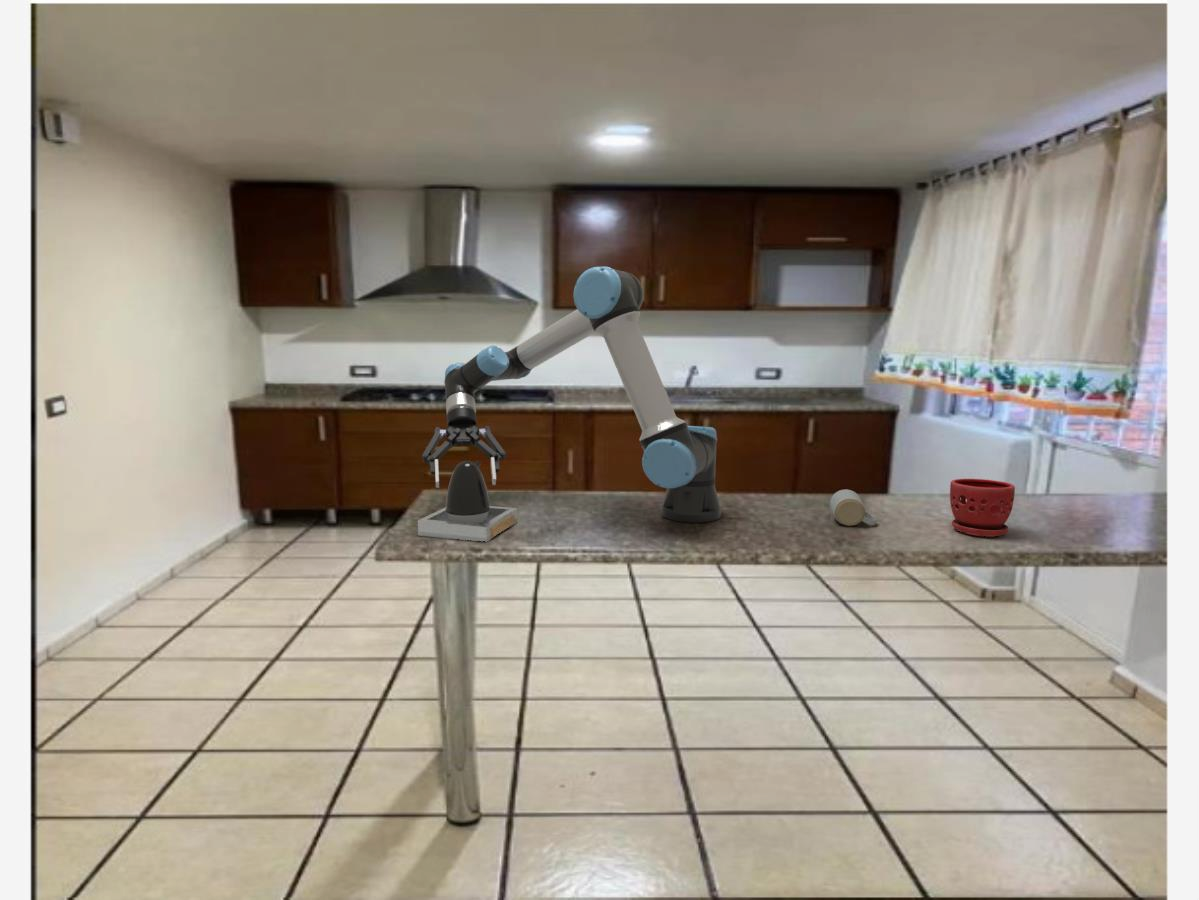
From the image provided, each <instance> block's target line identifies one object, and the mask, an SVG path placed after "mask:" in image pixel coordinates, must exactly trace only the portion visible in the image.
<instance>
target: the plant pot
mask: <svg viewBox="0 0 1199 900" xmlns="http://www.w3.org/2000/svg"><path fill="white" fill-rule="evenodd" d="M1015 493H1016V487H1015V485H1014V484H1012V483H1009V482H1006V481H1002V480H1001V481H1000V480H993V479H984V478H956V479H953V480H951V481H950V485H949V501H950V502H949V503H950V509H951V512H952V515H953V517H954V519H952V521H951V526H952V527H953V528H954V529H955V530H956V531H960V532H959V533H962V532H963V534H966V535H970V536H976V537H984V536H985V537H987V538H992V537H995V536H999V537H1000V536H1002V535H1005V534H1006V533H1008V531H1009V529H1010V527H1009V526H1008V525H1006V522H1007V521H1008V519H1009V518H1010V516H1011V513H1012V510H1013V507H1014V506H1013V505H1014V500H1015Z"/></svg>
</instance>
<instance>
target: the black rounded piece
mask: <svg viewBox="0 0 1199 900" xmlns="http://www.w3.org/2000/svg"><path fill="white" fill-rule="evenodd" d="M481 464H482V462H481V461H480V460H477V461H475V462H473V461H470V460H464V461H461V462H459V463H458V464H457V465H456V466H455V468H454V470H453V472H452V474H451V476H450V480H449V484H448V486H447V492H446V496H445V497H446V498H445V507H446V512H447V514H448V517H449V519H450V521H451V522H459V523H470V524H481V523H483V522H484V521H485V519H486V518H487V515H488V511H489V510H490V506H491V505H490V504H491V502H490V498H489V493H488V488H487V485H486V482H485V478H484V475H483V474H482V471H481V470H480V468H479V467H480V466H481Z"/></svg>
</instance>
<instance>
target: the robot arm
mask: <svg viewBox="0 0 1199 900" xmlns="http://www.w3.org/2000/svg"><path fill="white" fill-rule="evenodd" d="M644 294H645V293H644V288H643V286H642V283H641V282H640V280H639V279H638V278H637V277H636V276H635V275H633V274H632V273H631V272H628V271H625V270H619V269H614V268H611V267H609V266H605V265H604V266H594V267H591V268H588V269H586V270H584V272H583V273H582V274H580V276H579V277H578V278H577V280H576V282H575V286H574V289H573V300H574V301H573V303H574V305H575V307H576V309H575V310H573V311H572V312H570V313H568V314H567V315H565V316H564V317H562V318H561V319H558V320H557V321H555V322H554V323H552V324H550V326H547V327H546V328H543V329H542V330H541V331H539V332H537V333H536V334H534V335H533V336H531V337H529V338H528V339H526V340H525V341H523V342H521V343H520V344H518V345H517V346H514V347H513V348H511V349H510V350H508V351H505V350H503V349H502V348H501V347H498V346H497V345H493V344H492V345H489V346H487V347H486V348H484V349H481V351H480V352H478V354H476V355H475V356H473V357H472V358H471V359H470V360H469V361H467V362H466V363H464V362H456V363H455V364H453V363H452V364H450V365H448V367H447V368H446V369H445V372H444V381H443V383H444V389H445V407H446V408H445V409H446V411H445V412H446V425H447V428H446V429H441V428H440V427H439V426H437V427H435V429H434V434H433V436H432V437H431V440H430V441H429V443H428V445H427V446H426V448H425V450H424V451H423V453H422V454H421V457H422V463H424V464H427V463H428V464H429V469H430V472H429V473H430V475H431V476H432V475H433V476H434V475H435V476H434V477H435V478H434V479H435V488H436V489H439V488H440V476H439V475H440V473H439V460H441V458H442V457H443V456H444V455H445V454H447V452H448V451H449V450H450V449H452V448H453V447H454V446H457V447H461V446H467V447H469V446H471V445H472V446H473V447H474V448H475V449H476V448H477V449H478V450H479V451H480V452H481V453H483V454H484V455H485V456H486V457H487V458H489V459H490V473H491V483H492V486H496V485H497V484H496V483H497V473H499V472H500V461H505V458H506V451H505V450H504V449H503V447H502V446H501V444H500V443H499V442H498V440H497V439H496V437H495V436H494V435H493V433H491V427H490V426H489V425H486V426H485V427H484V428H479V427H478V422H477V420H478V419H477V409H476V408H477V407H476V398H475V397H476V396H475V393H477V391H479V390H480V389H482V388H484V387H485V386H486V385H488V384H489V383H491V382H492V381H493V382H495V381H505V380H520V379H522V378H526V377H527V376H529V375H530V373H531V371H532V370H533V369H535V368H536V367H538V366H540V365H541V364H544V363H546V362H547V361H548V360H550V359H552V358H554V357H555V356H557V355H559V354H560V353H562V352H564V351H565V350H567V349H569V348H571V347H572V346H574V345H576V344H578V343H580V342H581V341H583V340H585V339H587V338H588V337H590V336H591V335H593V334H596V335H598V336H600V337H603V339H604V341H605V342H604V343H605V344H606V346H607V349H608V351H609V353H610V356H611V358H612V361H613V363H614V365H615V368H616V370H617V372H618V376H619V377H620V380H621V382H622V385H623V387H624V389H625V392H626V394H627V397H628V399H629V402H630V404H631V407H632V409H633V412H634V414H635V416H636V418H637V421H638V424H639V427H640V429H641V435H640V437H639V441H638V442H640V445H641V448H642V450H643V455H642V458H641V465H642V469H643V473H644V474H645V476H646V477H647V479H649V481H650V482H652V483H653V484H654V485H656V486H658V487H660V488H664V489H666V492H665V494H664V497H663V499H662V502H661V505H660V506H661V507H660V516H662V517H663V518H666V519H667V520H671V521H676V522H682V523H694V524H695V523H696V524H697V523H709V522H715V521H717V520H718V519H721V516H722V507H721V503H720V499H719V496H718V493H717V490H716V467H717V466H716V464H717V463H716V461H717V443H718V435H717V430H716V428H714V427H711V426H699V425H698V426H697V425H696V426H695V425H688V424H687V422H686V420H684V419H681V418H679V417H678V416H677V415H676V413H675V410H674V408H673V406H672V403H671V400H670V397H669V396H668V393H667V391H666V389H665V386H664V383H663V381H662V379H661V376H660V374H659V372H658V369H657V366H656V364H655V362H654V359H653V357H652V355H651V353H650V351H649V347H648V345H647V343H646V341H645V338H644V335H643V333H642V331H641V328H640V325H639V322H638V321H639V319H640V316H641V311H640V309H641V307H642V305H643V301H644ZM480 435H481V436H482V437H483V438H485V439H486V442H487V443H488V444H487V443H486V442H485V441H483V440H482V439H481V438H480ZM444 436H445V437H447V438H446V440H445V441H444V442H443V443H442V444H441V445H440V446H439V447H438V448H437V446H438V444H439V443H440V440H442V438H443V437H444ZM489 445H490V446H489ZM436 448H437V449H436ZM435 449H436V450H435Z"/></svg>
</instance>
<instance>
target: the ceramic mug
mask: <svg viewBox="0 0 1199 900" xmlns="http://www.w3.org/2000/svg"><path fill="white" fill-rule="evenodd" d="M829 508H830V511H831V513H832V514H833V516H834V518H835V521H837V522H838V523H839V524H841V525H844V526H846V527H853V526H856V525H858V524H861V522H862V523H864V524H866V525H868V526H872V527H873V526H875V525H876V523H877V522H878V519H877V518H876V517H875V516H874V515H872V514H871V513H869V512H868V511H866V507H865V505H864V503H863V501H862V499H861V497H860V496H859V494H858V492H857V493H856V491H854V490H851V489H840V490H838V491H836V492H834V494H833V495H832V496H831V498H830V501H829Z"/></svg>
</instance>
